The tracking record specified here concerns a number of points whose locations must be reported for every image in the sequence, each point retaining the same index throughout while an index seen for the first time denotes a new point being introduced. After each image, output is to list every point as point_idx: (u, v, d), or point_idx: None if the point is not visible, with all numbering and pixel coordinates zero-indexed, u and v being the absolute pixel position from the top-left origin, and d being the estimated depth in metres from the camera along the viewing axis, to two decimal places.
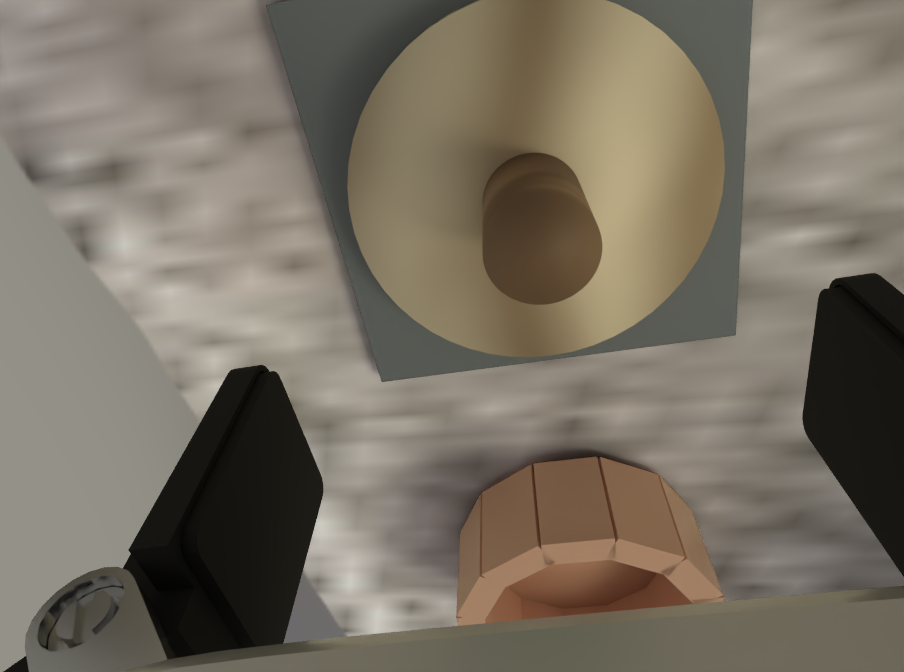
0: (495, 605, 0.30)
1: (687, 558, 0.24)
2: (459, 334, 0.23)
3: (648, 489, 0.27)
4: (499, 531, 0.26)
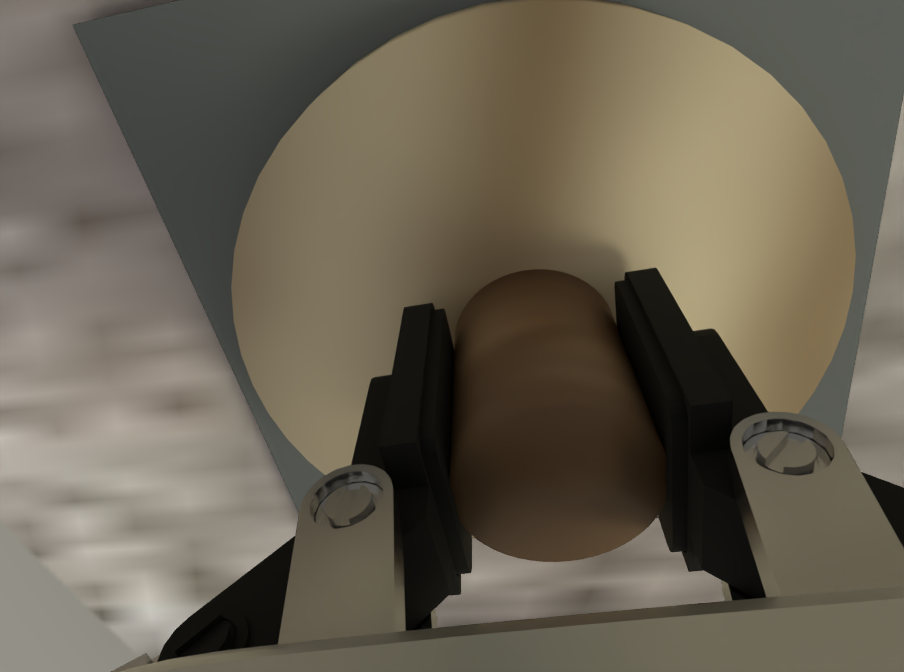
0: None
1: None
2: None
3: None
4: None
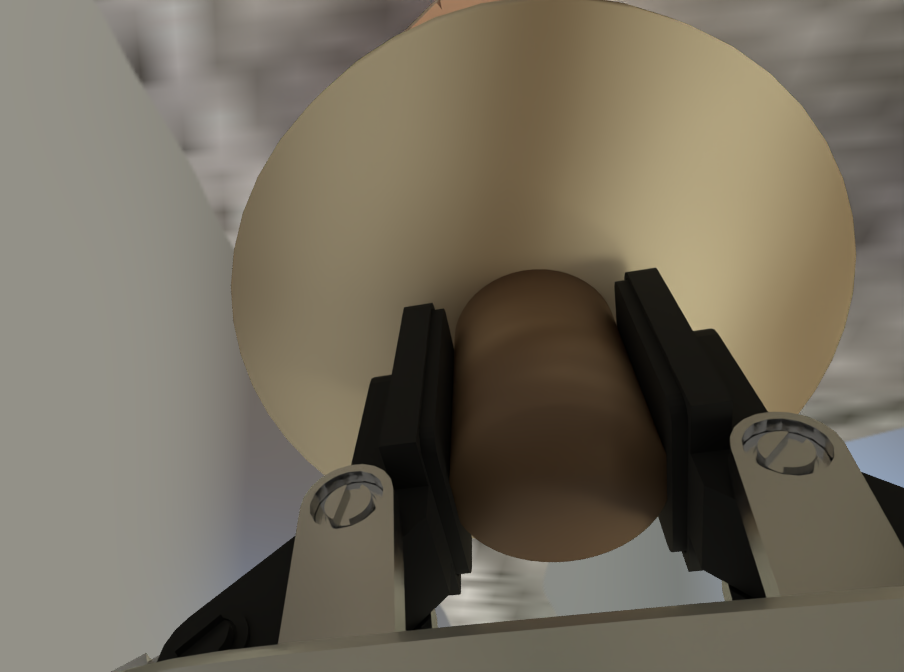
0: None
1: None
2: None
3: None
4: None
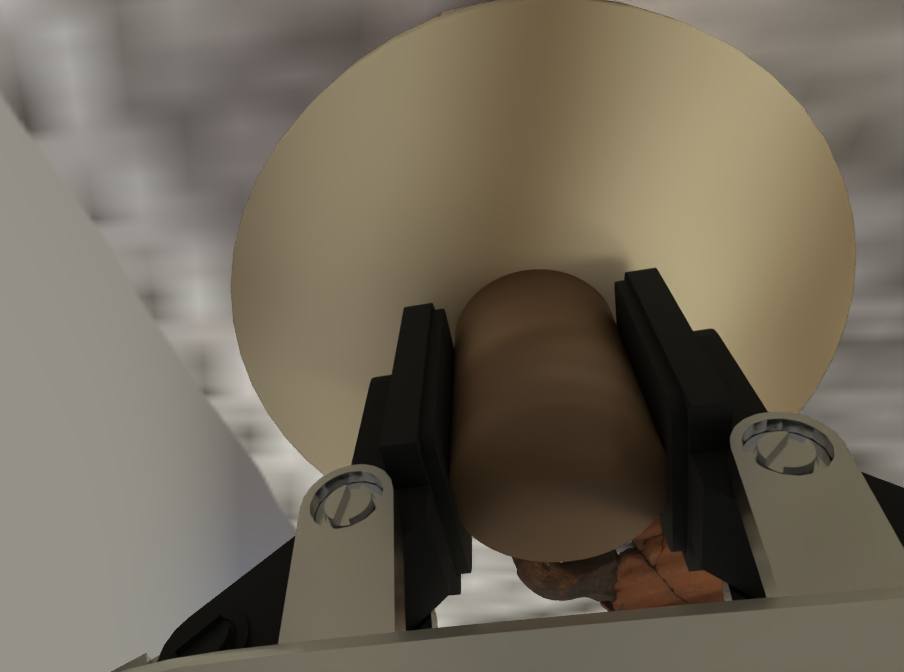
0: None
1: None
2: None
3: None
4: None
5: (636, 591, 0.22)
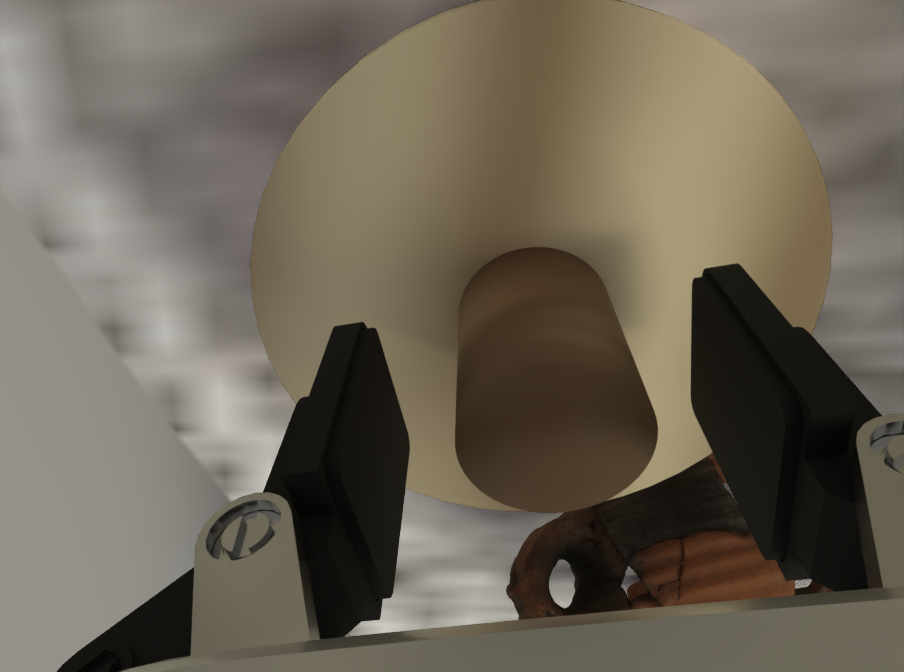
0: None
1: None
2: (431, 484, 0.16)
3: None
4: None
5: None
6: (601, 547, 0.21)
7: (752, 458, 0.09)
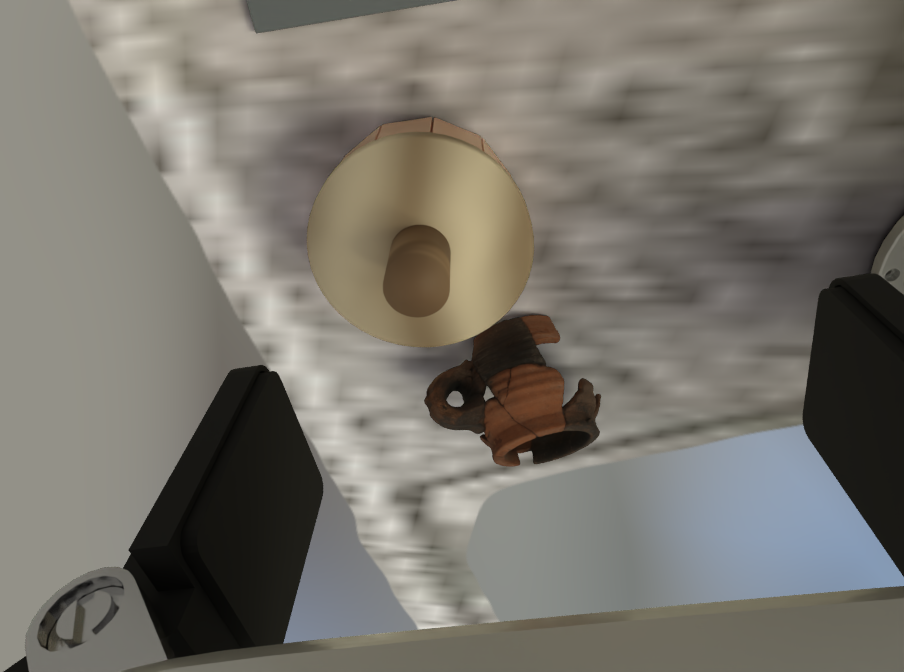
0: None
1: None
2: (379, 331, 0.36)
3: (469, 136, 0.34)
4: None
5: (495, 421, 0.40)
6: (474, 379, 0.41)
7: None
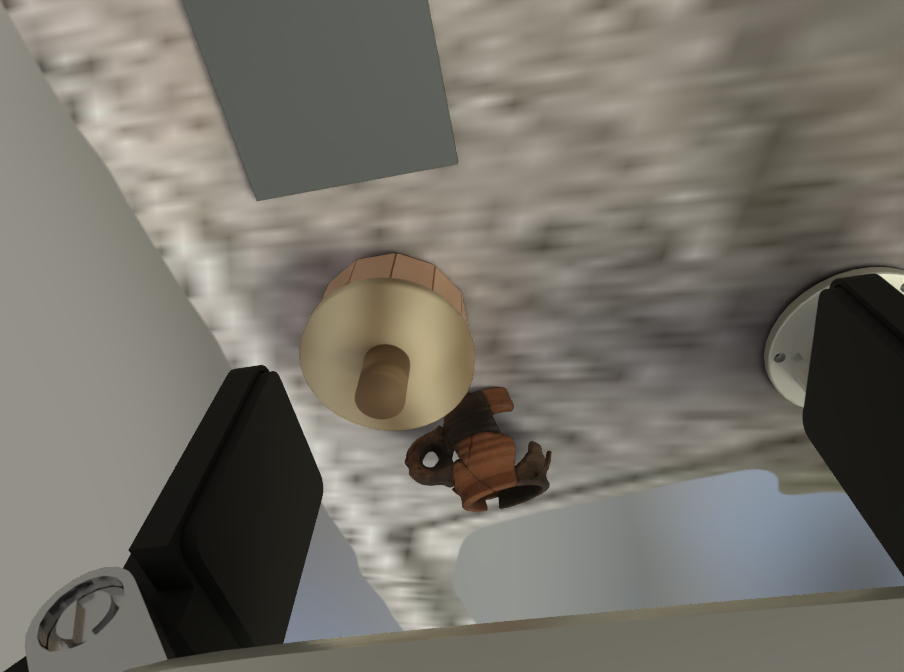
0: None
1: None
2: (359, 420, 0.45)
3: (423, 269, 0.44)
4: (330, 293, 0.43)
5: (461, 478, 0.49)
6: (445, 443, 0.50)
7: None
